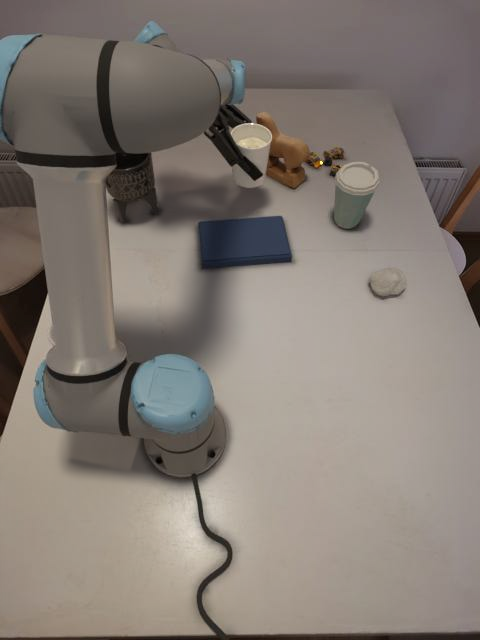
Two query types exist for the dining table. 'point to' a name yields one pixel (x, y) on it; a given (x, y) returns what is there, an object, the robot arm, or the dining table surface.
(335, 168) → the toy set
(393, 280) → the pebble
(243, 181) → the candle holder
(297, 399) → the dining table surface
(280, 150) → the sculpture
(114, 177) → the planter
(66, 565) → the dining table surface
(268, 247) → the blue book
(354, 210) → the disposable coffee cup
